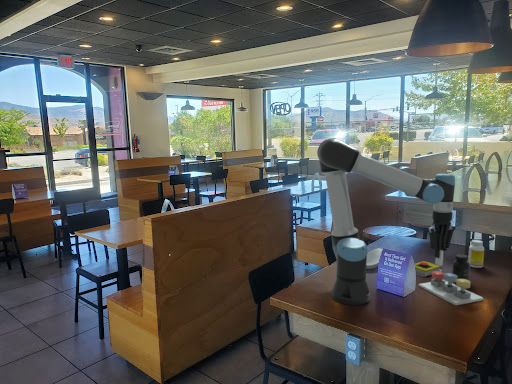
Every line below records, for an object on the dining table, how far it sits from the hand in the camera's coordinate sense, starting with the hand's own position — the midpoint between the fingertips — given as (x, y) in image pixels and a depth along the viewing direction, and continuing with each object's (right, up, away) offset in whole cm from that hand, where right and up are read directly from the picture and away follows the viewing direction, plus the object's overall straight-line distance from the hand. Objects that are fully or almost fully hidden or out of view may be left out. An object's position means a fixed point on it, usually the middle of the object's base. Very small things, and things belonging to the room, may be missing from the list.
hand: (438, 264), depth 164 cm
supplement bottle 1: (+13, -9, +7) cm, 18 cm away
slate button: (+2, -7, -5) cm, 9 cm away
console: (+2, -11, -5) cm, 12 cm away
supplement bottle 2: (+31, -6, +27) cm, 41 cm away
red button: (0, -8, +1) cm, 8 cm away
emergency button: (+3, -8, +21) cm, 23 cm away
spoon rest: (-19, -6, +31) cm, 37 cm away
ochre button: (+4, -8, -11) cm, 15 cm away
